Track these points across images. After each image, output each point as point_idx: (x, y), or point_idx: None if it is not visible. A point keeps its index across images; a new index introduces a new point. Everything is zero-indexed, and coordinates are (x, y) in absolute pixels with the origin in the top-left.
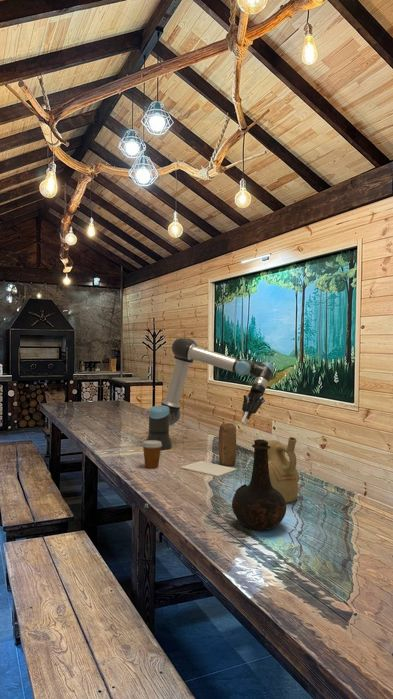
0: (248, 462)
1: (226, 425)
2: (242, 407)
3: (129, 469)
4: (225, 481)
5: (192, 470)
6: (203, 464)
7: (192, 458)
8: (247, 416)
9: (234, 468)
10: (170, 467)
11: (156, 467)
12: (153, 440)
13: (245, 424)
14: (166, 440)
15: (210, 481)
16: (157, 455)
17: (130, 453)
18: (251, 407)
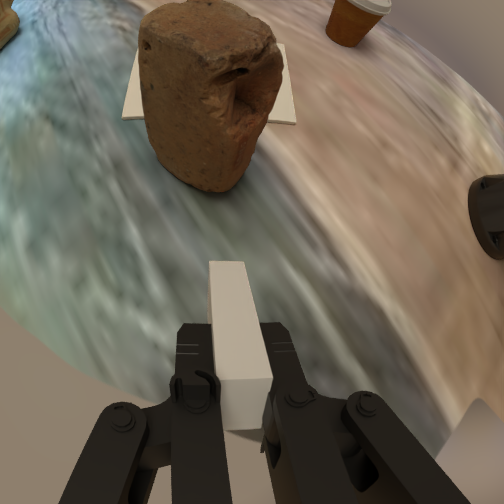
0: (137, 248)
1: (207, 8)
2: (401, 427)
3: None
4: (109, 31)
5: None
6: None
7: (350, 153)
8: (198, 337)
9: (131, 113)
10: (308, 45)
11: (326, 31)
12: (385, 5)
13: (207, 310)
14: (492, 202)
15: (143, 14)
16: (334, 7)
17: (465, 119)
18: (187, 489)
